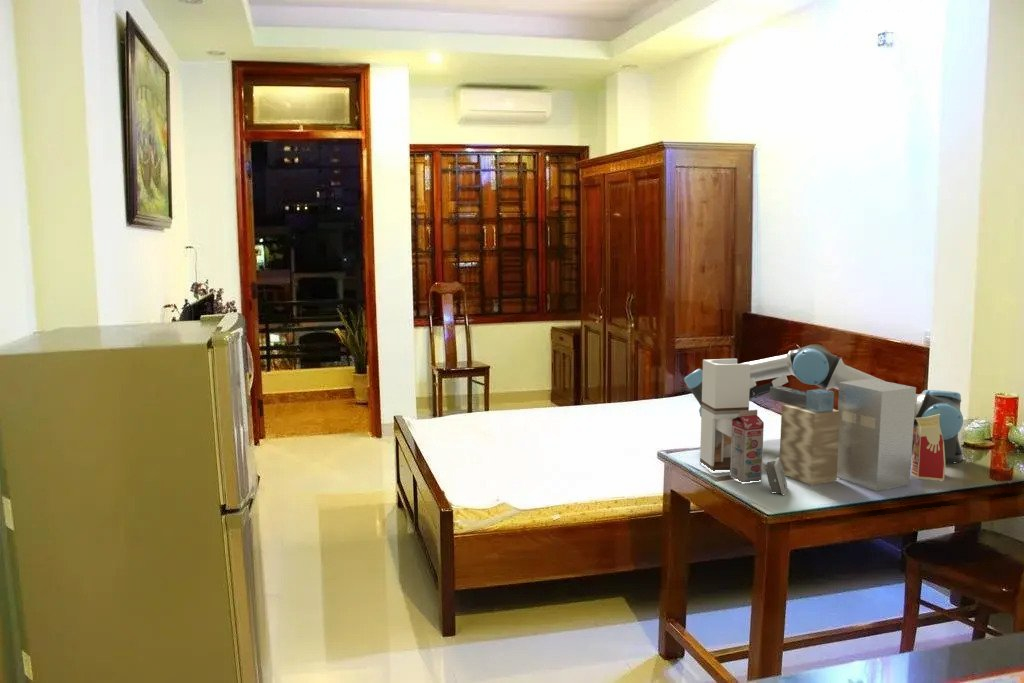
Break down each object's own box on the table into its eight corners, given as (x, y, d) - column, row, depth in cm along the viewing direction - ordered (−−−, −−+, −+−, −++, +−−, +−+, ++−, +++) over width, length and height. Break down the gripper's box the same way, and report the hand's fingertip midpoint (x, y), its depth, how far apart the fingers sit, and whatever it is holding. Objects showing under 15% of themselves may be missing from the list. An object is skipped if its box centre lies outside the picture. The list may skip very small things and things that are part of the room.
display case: (712, 473, 255) (716, 365, 250) (699, 463, 266) (702, 359, 261) (746, 471, 257) (750, 363, 252) (732, 462, 267) (736, 358, 262)
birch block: (778, 472, 256) (781, 405, 253) (802, 468, 260) (805, 402, 257) (811, 485, 243) (815, 414, 240) (836, 480, 247) (840, 410, 244)
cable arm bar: (767, 399, 261) (767, 381, 261) (781, 397, 264) (782, 379, 263) (818, 413, 242) (819, 393, 241) (833, 411, 244) (834, 391, 243)
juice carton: (730, 478, 250) (732, 409, 247) (748, 475, 253) (750, 407, 250) (743, 484, 244) (745, 413, 241) (761, 481, 246) (764, 411, 243)
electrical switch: (785, 496, 233) (783, 465, 232) (766, 496, 235) (764, 465, 234) (787, 487, 242) (785, 457, 241) (769, 486, 244) (767, 456, 243)
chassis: (833, 476, 252) (838, 382, 248) (866, 470, 257) (872, 378, 253) (875, 491, 237) (881, 391, 233) (909, 484, 243) (916, 387, 239)
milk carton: (939, 472, 255) (943, 411, 252) (945, 481, 246) (950, 417, 243) (907, 470, 258) (911, 409, 255) (912, 478, 249) (916, 415, 246)
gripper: (762, 407, 285) (802, 387, 267) (706, 414, 275) (744, 393, 257) (756, 387, 288) (795, 366, 270) (700, 393, 277) (737, 372, 259)
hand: (770, 379), depth 263 cm, fingers open, 13 cm apart
